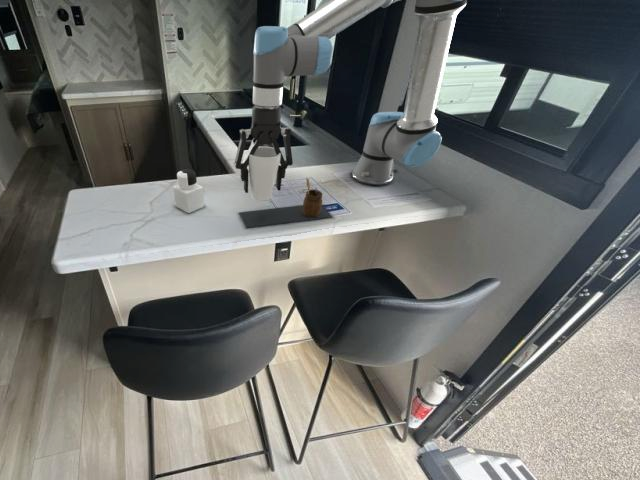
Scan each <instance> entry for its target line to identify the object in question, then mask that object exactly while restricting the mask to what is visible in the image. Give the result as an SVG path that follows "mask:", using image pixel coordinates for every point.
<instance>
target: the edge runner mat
mask: <svg viewBox="0 0 640 480" xmlns="http://www.w3.org/2000/svg"><path fill="white" fill-rule="evenodd" d="M302 208H303V204H300V205H292V206H283V207H282V206H281V207H275V208H266V209H257V210H248V211H240V212H238V214H239V216H240V218H241V220H242V222H243V225H244V226H245V229H250V228H251V229H252V228H260V227H268V226H269V227H270V226H276V225H284V224H293V223H299V222H309V221H316V220H324V219H332V218H333V216H332V214H331V213H330V212H329V211H328V210H327V209H326V208H325V207H324V206H323V205H322V206H321V211H320V214H319V215H318V216H316V217H308V216H306V215H304V214H303V212H302Z"/></svg>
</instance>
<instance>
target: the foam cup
mask: <svg viewBox="0 0 640 480" xmlns="http://www.w3.org/2000/svg"><path fill="white" fill-rule="evenodd" d="M246 153H248V152H247V151H246ZM281 153H282V152H281ZM281 153H279V154H278V155H276V152H275V150H274V148H272V147H258V148H257V149H256V151H255V153H254V155H249V165H248V167H247V168H248V171H249V175H248V178H249V185H250V196H251V198H252V199H253V200H255V201H258V202H259V201H260V202H266V201H269V200H271V199H272V197H273V195H274V194H273V193H274V188H275V186H276V178H277V171H278V166H279V165H281V164H280V158H281Z"/></svg>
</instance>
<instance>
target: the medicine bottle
mask: <svg viewBox="0 0 640 480" xmlns="http://www.w3.org/2000/svg"><path fill="white" fill-rule="evenodd" d="M176 178H177V179H176V180H177V184H176V185H174V186H173V187H172V190H173V195H174V196H173V197H174V203H175V207H176V208H178V209H179V210H181V211H183V212H185V213H187V214H191V213H193V212H195V211H197V210H200V209H202V208H205V197H204V187H203V186H201V185H200V184H198V181H197V172H196V171H195V170H194V169H193V170H192V169H185V168H184V169H181V170H179V171H178V172H177V173H176Z"/></svg>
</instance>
